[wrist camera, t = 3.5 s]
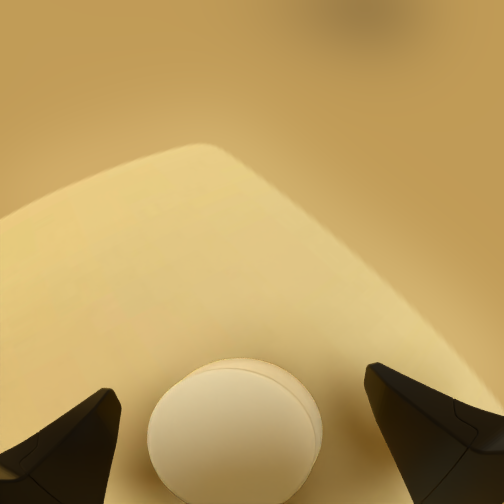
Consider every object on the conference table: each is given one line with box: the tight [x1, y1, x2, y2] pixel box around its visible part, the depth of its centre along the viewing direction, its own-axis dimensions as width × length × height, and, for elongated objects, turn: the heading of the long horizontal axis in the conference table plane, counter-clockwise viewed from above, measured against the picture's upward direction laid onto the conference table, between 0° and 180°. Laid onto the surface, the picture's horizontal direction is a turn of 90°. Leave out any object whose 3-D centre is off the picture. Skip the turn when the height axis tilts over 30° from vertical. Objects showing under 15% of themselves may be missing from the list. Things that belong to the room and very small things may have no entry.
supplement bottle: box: [147, 358, 323, 504], centre depth 9 cm, size 5×5×10 cm
